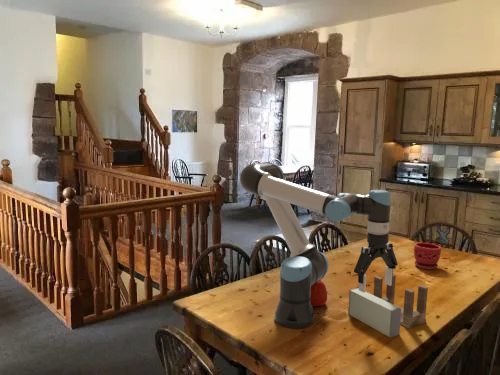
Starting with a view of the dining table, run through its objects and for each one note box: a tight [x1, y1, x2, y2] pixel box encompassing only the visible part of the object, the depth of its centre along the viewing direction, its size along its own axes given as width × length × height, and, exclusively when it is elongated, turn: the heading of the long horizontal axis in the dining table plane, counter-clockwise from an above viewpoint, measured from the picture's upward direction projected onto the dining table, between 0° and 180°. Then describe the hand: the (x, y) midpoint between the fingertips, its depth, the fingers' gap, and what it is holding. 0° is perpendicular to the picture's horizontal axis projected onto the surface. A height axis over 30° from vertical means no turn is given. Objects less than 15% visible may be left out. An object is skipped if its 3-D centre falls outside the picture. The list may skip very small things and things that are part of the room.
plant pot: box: [413, 242, 442, 270], centre depth 219 cm, size 13×13×12 cm
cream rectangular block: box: [347, 287, 402, 338], centre depth 154 cm, size 4×21×10 cm, turn 30°
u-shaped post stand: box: [372, 273, 429, 329], centre depth 160 cm, size 10×18×14 cm, turn 30°
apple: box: [310, 279, 328, 307], centre depth 171 cm, size 11×11×11 cm
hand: (375, 287), depth 152 cm, fingers open, 13 cm apart
